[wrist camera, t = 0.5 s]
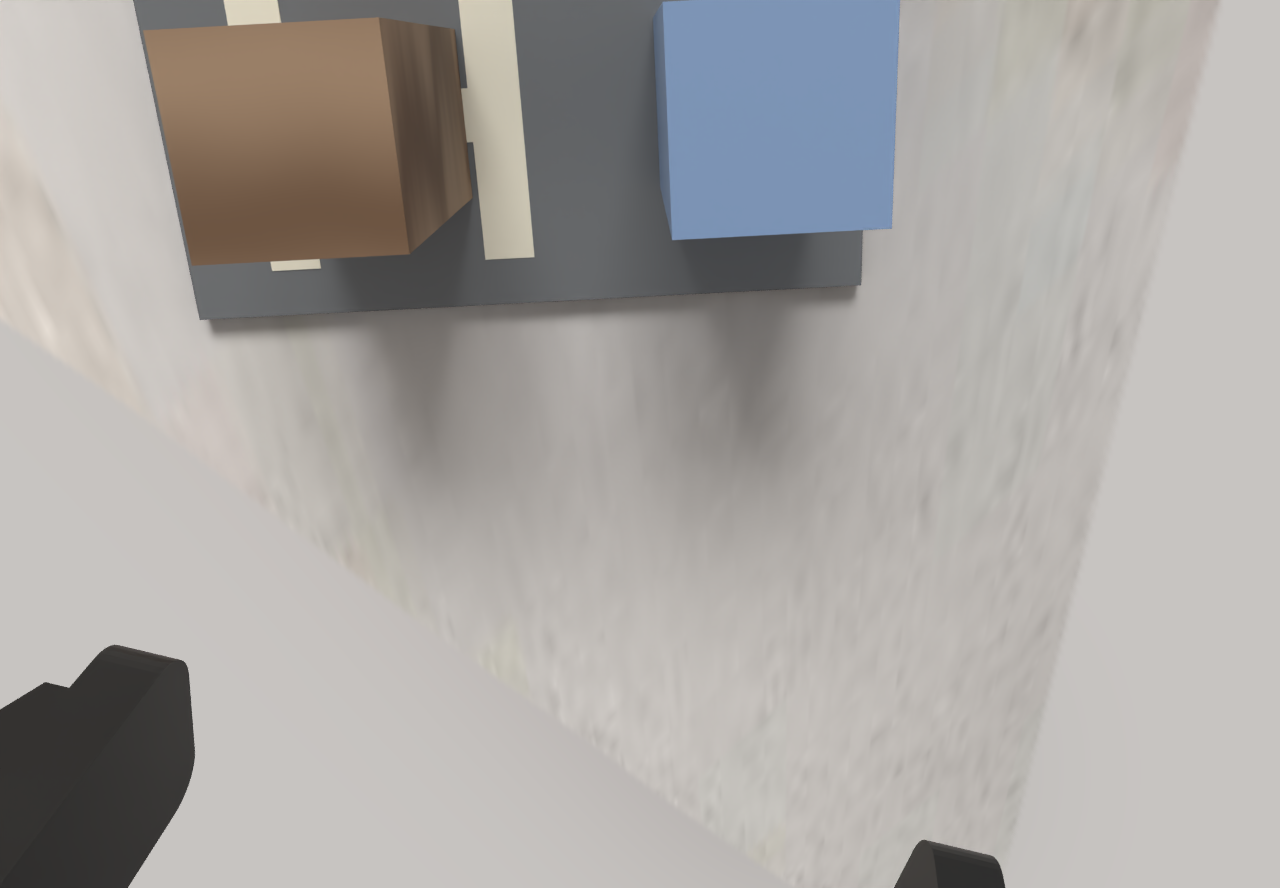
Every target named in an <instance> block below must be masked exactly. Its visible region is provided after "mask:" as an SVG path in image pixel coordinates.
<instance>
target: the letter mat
mask: <svg viewBox="0 0 1280 888" xmlns="http://www.w3.org/2000/svg"><path fill="white" fill-rule="evenodd" d="M133 1H134V6H135V11H136V16H137V20H138V25H139V30H140V35H141V40H142V44H143V49H144V54H145V59H146V64H147V68H148V73H149V78H150V83H151V88H152V92H153V97H154V102H155V107H156V112H157V116H158V121H159V126H160V131H161V136H162V140H163V145H164V150H165V155H166V160H167V165H168V169H169V174H170V179H171V184H172V189H173V193H174V198H175V203H176V208H177V213H178V217H179V222H180V227H181V232H182V237H183V241H184V246H185V251H186V256H187V261H188V265H189V270H190V275H191V280H192V285H193V289H194V294H195V299H196V304H197V309H198V313H199V318H200V320H207V319H226V318H245V317H264V316H283V315H302V314H321V313H340V312H359V311H379V310H398V309H417V308H436V307H455V306H474V305H493V304H512V303H531V302H550V301H569V300H589V299H608V298H627V297H646V296H665V295H684V294H703V293H722V292H741V291H760V290H779V289H799V288H818V287H837V286H856V285H861V271H862V232H863V230H854V231H835V232H816V233H797V234H778V235H759V236H740V237H721V238H702V239H684V240H672V237H671V233H670V228H669V224H668V219H667V215H666V211H665V206H664V202H663V198H662V193H661V189H660V171H659V148H658V124H657V101H656V78H655V55H654V32H653V17H654V16H655V14H656V12H657V11H658V9H659V7H660V6H661V4H662V2H668V1H686V0H133ZM376 17H379V18H386V19H392V20H399V21H405V22H412V23H418V24H425V25H431V26H438V27H444V28H451V29H455V37H456V46H457V55H458V65H459V74H460V83H461V93H462V102H463V112H464V121H465V130H466V140H467V149H468V158H469V168H470V177H471V186H472V196H473V198H472V199H471V200H470V201H468V202H467V203H466V204H465V205H464V206H463V207H462V208H461V209H460V210H458V211H457V212H456V213H455V214H454V215H453V216H452V217H451V218H450V219H448V220H447V221H446V222H445V223H444V224H443V225H442V226H441V227H439V228H438V229H437V230H436V231H435V232H434V233H433V234H432V235H431V236H429V237H428V238H427V239H426V240H425V241H424V242H423V243H422V244H421V245H419V246H418V247H417V248H416V249H415V250H414V251H413V252H412V253H411V254H406V255H387V256H368V257H349V258H330V259H311V260H292V261H273V262H254V263H236V264H217V265H198V266H192V264H191V260H190V255H189V250H188V245H187V240H186V235H185V231H184V226H183V221H182V216H181V211H180V207H179V202H178V197H177V192H176V187H175V182H174V178H173V173H172V168H171V163H170V158H169V153H168V149H167V144H166V139H165V134H164V129H163V124H162V120H161V115H160V110H159V105H158V100H157V95H156V91H155V86H154V81H153V76H152V71H151V66H150V62H149V57H148V52H147V47H146V42H145V37H144V33H143V30H159V29H177V28H195V27H213V26H231V25H250V24H268V23H286V22H304V21H322V20H340V19H358V18H376Z"/></svg>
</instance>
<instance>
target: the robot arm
mask: <svg viewBox="0 0 1280 888" xmlns="http://www.w3.org/2000/svg"><path fill="white" fill-rule="evenodd" d="M194 759H195V747H194V734H193V721H192V709H191V696H190V684H189V672H188V668H187V665H186V663H185V662H184V661H182V660H178V659H174V658H169V657H166V656H162V655H157V654H153V653H149V652H145V651H141V650H136V649H132V648H128V647H124V646H120V645H112V646H109V647H107V648H106V649H104V650H103V651H101V652H100V653H99V654H98V655H97V656H96V657H95V659H94V660H93V661H92V662H91V663H90V664H89V665H88V667H87V668H86V669H85V670H84V671H83V672H82V674H81V675H80V676H79V677H78V678H77V680H76V681H75V682H74V683H73V684H72V685H71V687H70V688H67V687H63V686H59V685H54V684H50V683H46V682H45V683H43V684H41V685H40V686H38V687H36V688H35V689H33V690H32V691H30V692H28V693H27V694H25V695H23V696H22V697H20V698H19V699H17V700H15V701H14V702H12V703H10V704H9V705H7V706H5V707H4V708H2V709H1V710H0V888H128V886H129V885H130V883H131V882H132V880H133V879H134V877H135V875H136V874H137V872H138V871H139V869H140V868H141V866H142V864H143V863H144V861H145V860H146V858H147V857H148V855H149V853H150V852H151V850H152V849H153V847H154V846H155V844H156V843H157V841H158V839H159V838H160V836H161V835H162V833H163V832H164V830H165V828H166V827H167V825H168V824H169V822H170V820H171V819H172V817H173V816H174V814H175V813H176V811H177V809H178V807H179V805H180V804H181V802H182V799H183V797H184V795H185V793H186V790H187V787H188V784H189V781H190V778H191V775H192V771H193V766H194ZM894 888H1005V884H1004V879H1003V874H1002V870H1001V868H1000V865H999V863H998V861H997V860H996V859H995V858H994V857H993V856H990V855H986V854H982V853H978V852H974V851H969V850H965V849H961V848H957V847H953V846H948V845H944V844H940V843H936V842H931V841H927V840H922V841H920V842H919V843H918V844H917V845H916V847H915V848H914V850H913V852H912V854H911V856H910V858H909V860H908V862H907V864H906V866H905V868H904V869H903V871H902V873H901V875H900V877H899V879H898V881H897V883H896V885H895V887H894Z"/></svg>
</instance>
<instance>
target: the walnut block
mask: <svg viewBox="0 0 1280 888" xmlns="http://www.w3.org/2000/svg"><path fill="white" fill-rule="evenodd" d="M143 33H144V37H145V42H146V47H147V52H148V57H149V62H150V66H151V71H152V76H153V81H154V86H155V91H156V95H157V100H158V105H159V110H160V115H161V120H162V124H163V129H164V134H165V139H166V144H167V149H168V153H169V158H170V163H171V168H172V173H173V178H174V182H175V187H176V192H177V197H178V202H179V207H180V211H181V216H182V221H183V226H184V231H185V235H186V240H187V245H188V250H189V255H190V260H191V264H192V266H198V265H217V264H236V263H254V262H273V261H292V260H311V259H330V258H349V257H368V256H387V255H406V254H411V253H412V252H413V251H414V250H415V249H416V248H417V247H418V246H419V245H421V244H422V243H423V242H424V241H425V240H426V239H427V238H428V237H429V236H431V235H432V234H433V233H434V232H435V231H436V230H437V229H438V228H439V227H441V226H442V225H443V224H444V223H445V222H446V221H447V220H448V219H450V218H451V217H452V216H453V215H454V214H455V213H456V212H457V211H458V210H460V209H461V208H462V207H463V206H464V205H465V204H466V203H467V202H468V201H470V200H471V199H472V198H473V196H472V186H471V177H470V168H469V158H468V149H467V140H466V130H465V121H464V112H463V102H462V93H461V83H460V74H459V65H458V55H457V46H456V37H455V29H451V28H444V27H438V26H431V25H425V24H418V23H412V22H405V21H399V20H392V19H386V18H379V17H376V18H358V19H340V20H322V21H304V22H286V23H268V24H250V25H231V26H213V27H195V28H177V29H159V30H143Z"/></svg>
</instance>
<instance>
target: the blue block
mask: <svg viewBox="0 0 1280 888" xmlns="http://www.w3.org/2000/svg"><path fill="white" fill-rule="evenodd" d="M899 11H900V0H686V1H668V2H662V4H661V6H660V7H659V9H658V11H657V12H656V14H655V16H654V17H653V32H654V55H655V78H656V101H657V124H658V148H659V171H660V189H661V193H662V198H663V202H664V206H665V211H666V215H667V219H668V224H669V228H670V233H671V237H672V240H684V239H702V238H721V237H740V236H759V235H778V234H797V233H816V232H835V231H854V230H873V229H891V228H892V207H893V179H894V151H895V123H896V95H897V67H898V39H899Z"/></svg>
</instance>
